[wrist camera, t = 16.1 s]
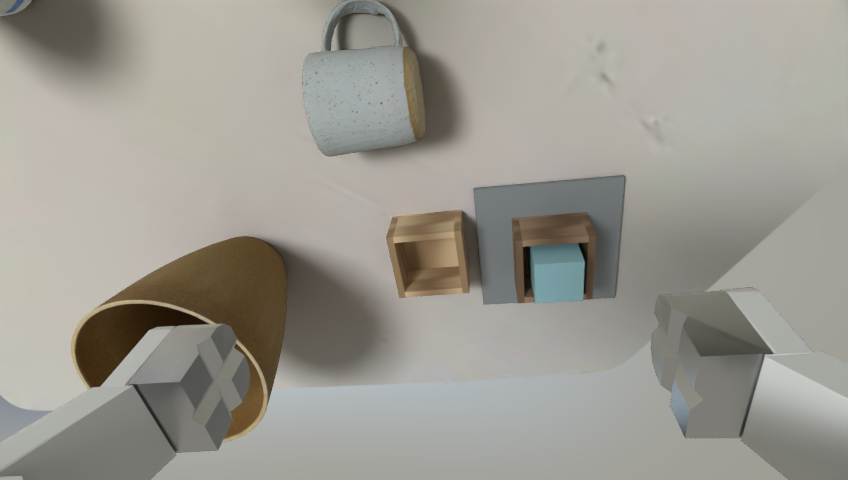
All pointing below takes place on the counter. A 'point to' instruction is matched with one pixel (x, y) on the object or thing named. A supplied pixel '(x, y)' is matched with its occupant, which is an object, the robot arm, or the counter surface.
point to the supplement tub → (12, 6)
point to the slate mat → (538, 200)
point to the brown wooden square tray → (551, 233)
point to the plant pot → (198, 316)
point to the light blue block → (556, 272)
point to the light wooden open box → (429, 254)
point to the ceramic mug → (363, 91)
